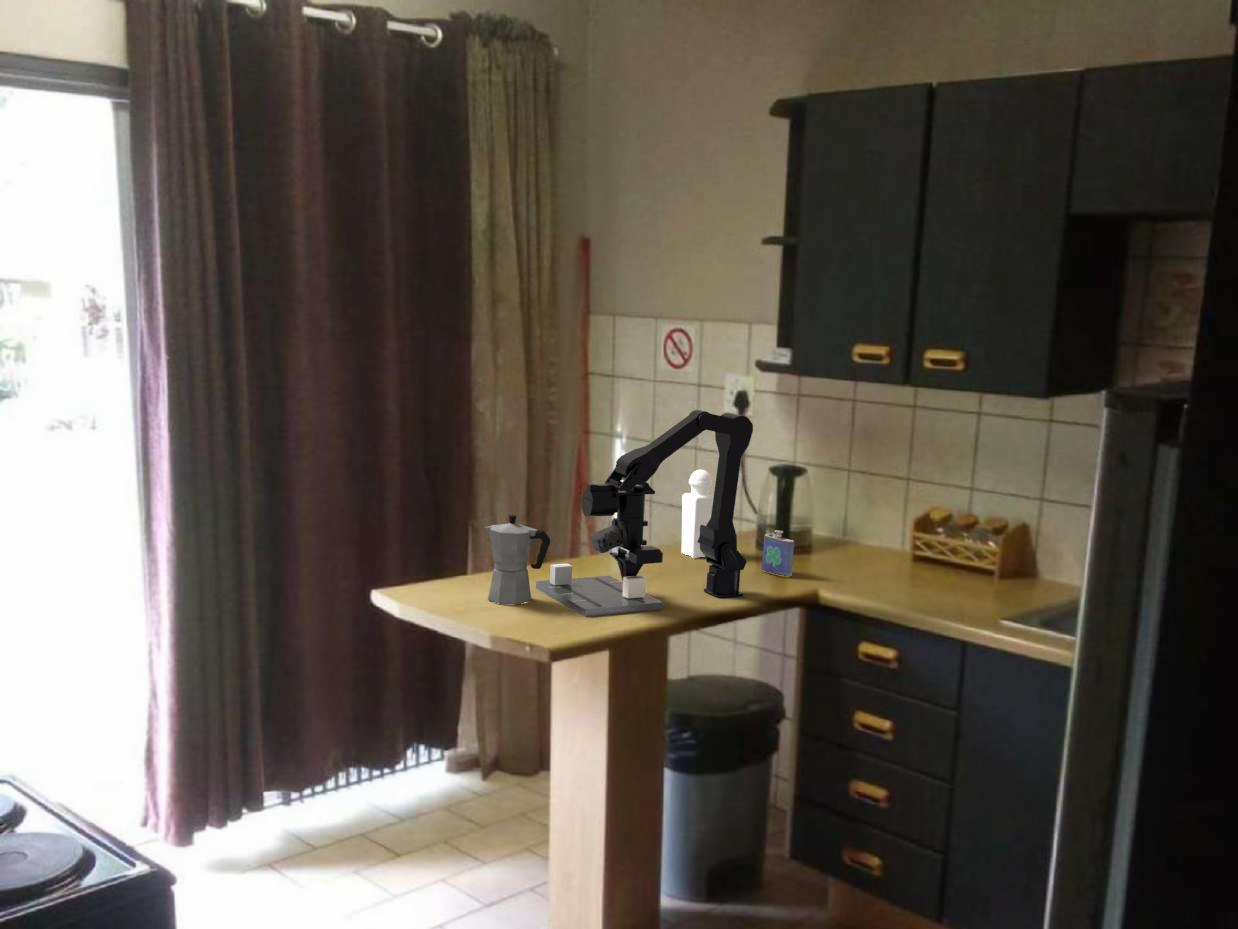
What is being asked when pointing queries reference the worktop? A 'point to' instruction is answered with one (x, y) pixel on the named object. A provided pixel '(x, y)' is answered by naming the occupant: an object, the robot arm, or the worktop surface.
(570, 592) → the panel
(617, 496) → the robot arm
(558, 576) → the block white
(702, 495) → the white square decanter
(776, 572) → the flask
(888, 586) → the worktop surface
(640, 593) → the block
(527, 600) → the coffeepot
